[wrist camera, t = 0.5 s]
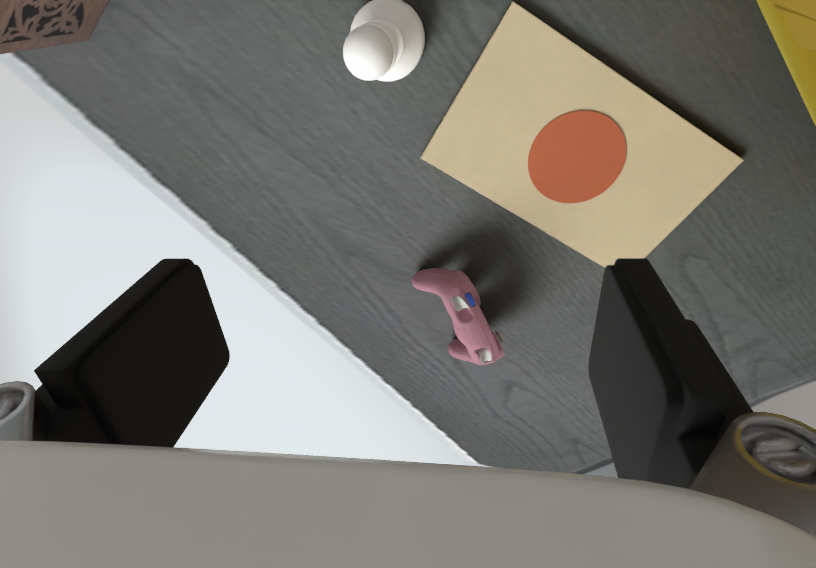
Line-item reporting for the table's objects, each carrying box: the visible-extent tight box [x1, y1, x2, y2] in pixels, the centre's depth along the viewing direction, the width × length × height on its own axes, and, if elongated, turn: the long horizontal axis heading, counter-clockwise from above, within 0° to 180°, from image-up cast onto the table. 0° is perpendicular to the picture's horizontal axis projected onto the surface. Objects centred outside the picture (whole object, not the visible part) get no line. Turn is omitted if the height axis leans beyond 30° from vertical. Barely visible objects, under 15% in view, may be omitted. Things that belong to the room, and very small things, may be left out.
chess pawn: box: [343, 0, 425, 81], centre depth 29 cm, size 5×5×9 cm
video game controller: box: [412, 268, 504, 365], centre depth 42 cm, size 10×5×7 cm, turn 25°
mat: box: [421, 1, 743, 268], centre depth 35 cm, size 12×20×1 cm, turn 61°
